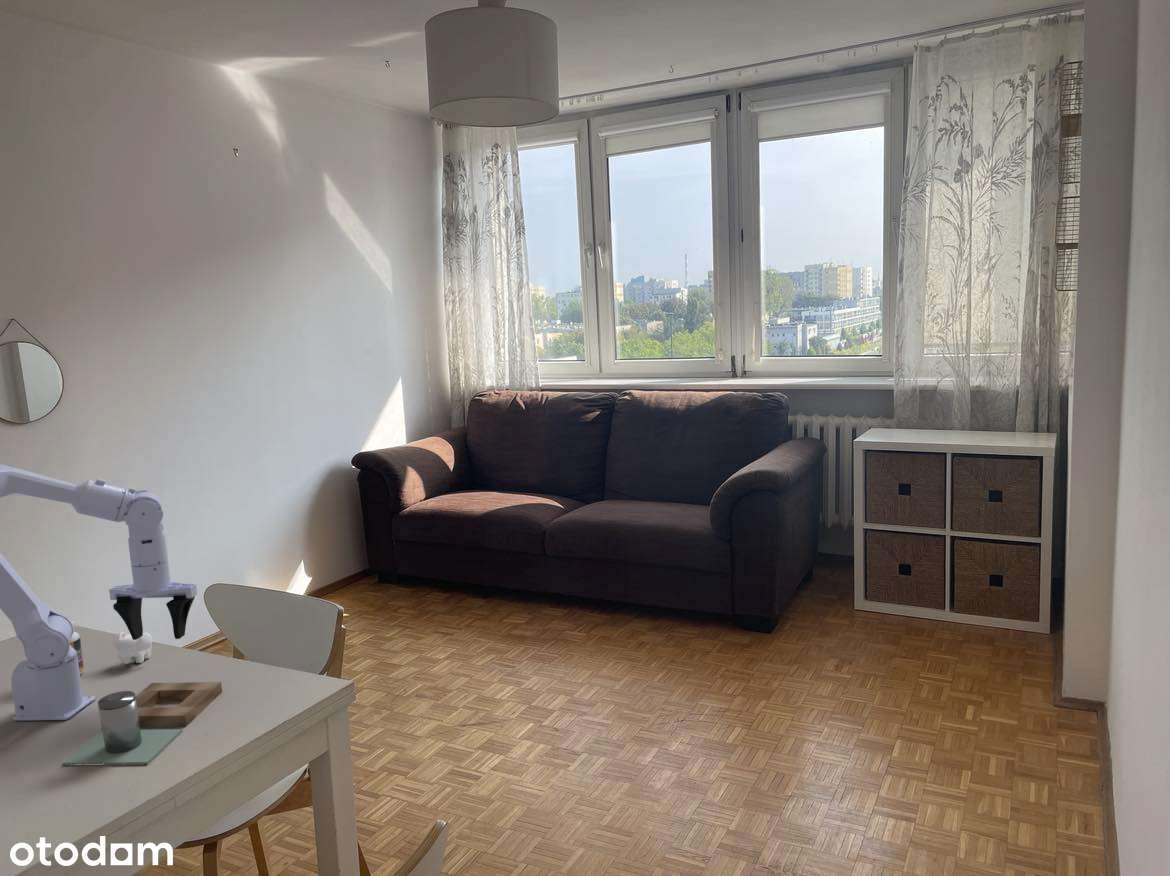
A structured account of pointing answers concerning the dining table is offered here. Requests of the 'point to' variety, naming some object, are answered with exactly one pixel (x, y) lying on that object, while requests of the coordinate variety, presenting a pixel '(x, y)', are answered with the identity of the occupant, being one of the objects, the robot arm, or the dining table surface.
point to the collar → (185, 712)
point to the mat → (142, 754)
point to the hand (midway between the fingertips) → (158, 637)
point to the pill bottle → (77, 647)
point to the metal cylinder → (120, 722)
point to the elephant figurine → (133, 648)
